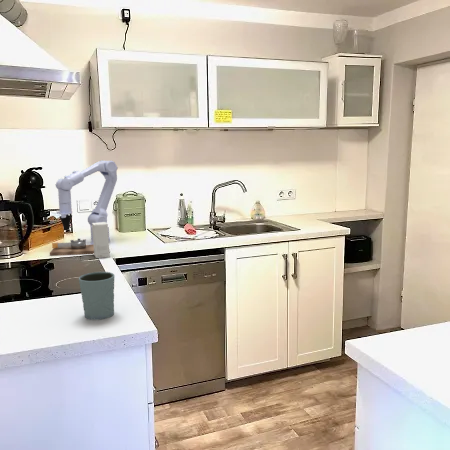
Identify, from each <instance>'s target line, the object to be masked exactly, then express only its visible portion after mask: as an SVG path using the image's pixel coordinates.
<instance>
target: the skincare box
mask: <svg viewBox="0 0 450 450" xmlns="http://www.w3.org/2000/svg"><path fill="white" fill-rule="evenodd" d="M108 225H109V224H108V222H107V223H106V222H98V223H92V231H93V244H94V254H93V255H94V257H95V259H102V258H103V259H105V258H110V257H111V255H110V253H111V252H110V242H109V237H110V236H109V237H108V227H109V226H108Z"/></svg>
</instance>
